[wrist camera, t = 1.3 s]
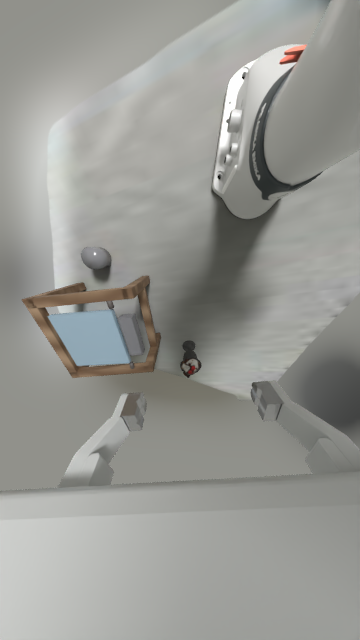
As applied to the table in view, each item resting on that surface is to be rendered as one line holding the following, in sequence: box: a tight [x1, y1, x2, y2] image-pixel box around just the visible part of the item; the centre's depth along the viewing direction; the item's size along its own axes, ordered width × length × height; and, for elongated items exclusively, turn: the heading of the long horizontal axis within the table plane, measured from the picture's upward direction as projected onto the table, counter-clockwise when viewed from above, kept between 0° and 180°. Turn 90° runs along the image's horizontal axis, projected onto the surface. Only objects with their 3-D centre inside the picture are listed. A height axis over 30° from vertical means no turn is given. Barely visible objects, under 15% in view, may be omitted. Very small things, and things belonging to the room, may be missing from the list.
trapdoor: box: [47, 309, 145, 366], centre depth 32 cm, size 14×18×2 cm
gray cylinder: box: [81, 247, 111, 269], centre depth 35 cm, size 5×5×5 cm
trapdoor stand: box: [22, 276, 161, 378], centre depth 38 cm, size 22×22×16 cm
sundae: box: [180, 341, 201, 378], centre depth 44 cm, size 7×7×15 cm
